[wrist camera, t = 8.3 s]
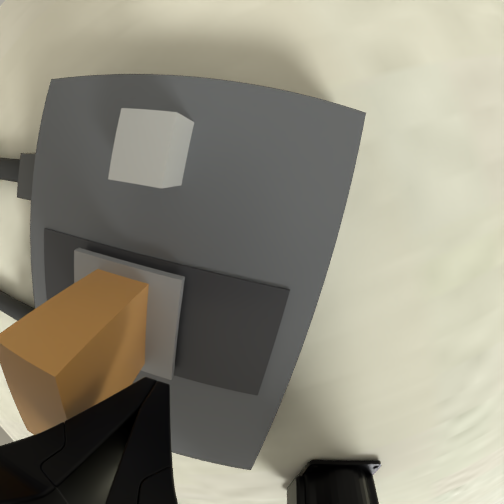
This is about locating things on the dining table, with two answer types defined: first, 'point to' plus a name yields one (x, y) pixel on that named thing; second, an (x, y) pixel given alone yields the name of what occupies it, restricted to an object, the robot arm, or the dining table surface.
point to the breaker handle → (91, 339)
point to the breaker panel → (199, 227)
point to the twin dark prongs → (3, 302)
